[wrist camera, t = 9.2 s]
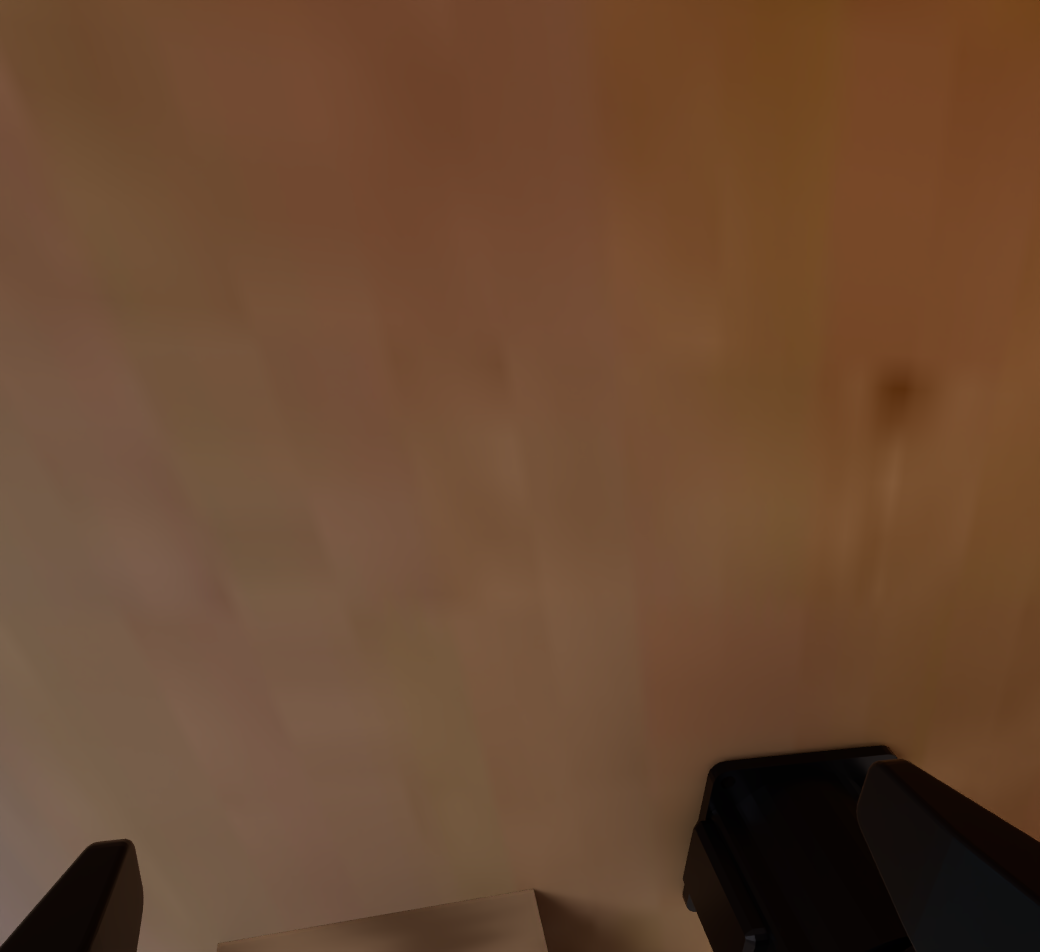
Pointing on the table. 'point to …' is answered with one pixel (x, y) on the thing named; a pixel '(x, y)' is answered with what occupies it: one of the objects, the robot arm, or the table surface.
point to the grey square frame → (420, 930)
